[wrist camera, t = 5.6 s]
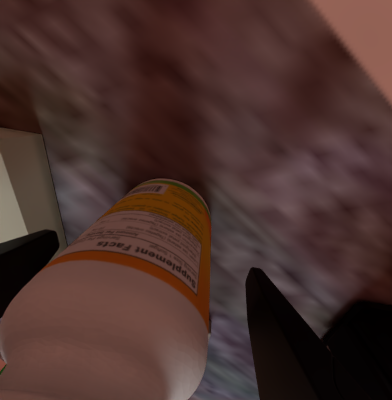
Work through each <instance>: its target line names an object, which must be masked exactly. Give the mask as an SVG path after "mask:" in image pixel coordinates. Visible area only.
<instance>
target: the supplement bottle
mask: <svg viewBox="0 0 392 400" xmlns="http://www.w3.org/2000/svg"><path fill="white" fill-rule="evenodd" d="M210 253H211V216H210V212H209V209H208V207H207V204H206V203H205V201H204V200H203V198H202V197H201V196H200V195H199V194H198V193H197V192H196V191H195V190H194V189H193V188H191V187H190V186H188V185H186V184H184V183H182V182H180V181H176V180H172V179H161V178H159V179H152V180H148V181H145V182H143V183H141V184H139V185H138V186H136V187H135V188H134V189H132V190H131V191H130V192H129V193H127V194H126V195H125V196H124V197H123V198H122V199H121V200H119V201H118V202H117V203H116V204H115V205H114V206H113V207H112V208H111V209H109V210H108V211H107V212H106V213H105V214H104V215H103V216H102V217H100V218H99V219H98V220H97V221H96V222H95V223H94V224H93V225H92V226H90V227H89V228H88V229H87V230H86V231H85V232H84V233H82V234H81V235H80V236H79V237H78V238H77V239H76V240H75V241H74V242H72V243H71V244H70V245H69V246H68V247H67V248H66V249H65V250H63V251H62V252H61V253H60V254H59V255H58V256H57V257H55V258H54V259H53V260H52V261H51V262H50V263H49V264H47V265H46V266H45V267H44V268H43V269H42V270H41V271H40V272H38V273H37V274H36V275H35V276H34V277H33V278H32V279H31V281H30V282H28V283H27V284H26V285H25V286H24V287H23V288H22V289H21V291H20V292H19V293H18V294H17V295H16V296H15V297H14V299H13V300H12V301H11V303H10V304H9V306H8V307H7V309H6V311H5V313H4V315H3V317H2V320H1V323H0V352H1V355H2V357H3V359H4V361H5V363H6V364H7V365H6V367H5V369H4V370H3V372H2V373H1V375H0V400H187V399H189V398H190V397H191V395H192V394H193V393H194V392H195V390H196V389H197V387H198V385H199V383H200V381H201V379H202V377H203V374H204V371H205V367H206V361H207V350H208V332H209V294H210Z"/></svg>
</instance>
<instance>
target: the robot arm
mask: <svg viewBox="0 0 392 400" xmlns="http://www.w3.org/2000/svg"><path fill="white" fill-rule="evenodd" d="M59 247H60V243H59V239H58V235H57V232H56V231H54V230H49V229H44V230H41V231H38V232H34V233H31V234H28V235H25V236H22V237H18V238H15V239H12V240H9V241H6V242H2V243H0V318H1V317H2V316H3V315H4V313H5V311H6V309H7V307H8V306H9V304H10V303H11V301H12V300H13V299H14V297H15V296H16V295H17V294H18V293H19V292H20V291H21V289H22V288H23V287H24V286H25V285H26V284H27V283H28V282H30V281H31V279H32V278H33V277H34V276H35V275H36V274H37V273H38V272H40V271H41V270H42V269H43V268H44V267H45V266H46V265H47V264H48V263H49V261H50V260H51V259H52V257H53V256H54V255H55V253H56V252H57V251H58V249H59ZM245 286H246V304H247V320H248V328H249V334H250V341H251V347H252V353H253V360H254V366H255V372H256V379H257V385H258V391H259V397H260V400H392V306H387V305H382V304H376V303H371V302H364V301H363V302H359V303H357V304H355V305H354V307H353V308H352V309H351V310H350V311H349V312H348V313H347V315H346V316H345V317H344V318H343V319H342V320H341V321H340V323H339V324H338V325H337V326H336V327H335V328H334V330H333V331H332V332H331V333H330V334H329V335H328V336H327V338H326V339H325V340H324V341H323V342H322V341H321V340H320V339H319V337H318V336H317V335H316V334H315V333H314V331H313V330H312V329H311V328H310V327H309V325H308V324H307V323H306V322H305V321H304V319H303V318H302V317H301V316H300V315H299V313H298V312H297V311H296V310H295V309H294V308H293V306H292V305H291V304H290V303H289V302H288V300H287V299H286V298H285V297H284V296H283V294H282V293H281V292H280V291H279V290H278V288H277V287H276V286H275V285H274V284H273V282H272V281H271V280H270V279H269V278H268V277H267V275H266V274H265V273H264V272H263V271H262V270H261V269H260V268H255V267H252V268H251V269H250V271H249V273H248V276H247V278H246V284H245Z"/></svg>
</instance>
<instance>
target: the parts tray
mask: <svg viewBox="0 0 392 400" xmlns="http://www.w3.org/2000/svg"><path fill="white" fill-rule="evenodd" d="M44 229H49V230H54V231H56V232H57V235H58V239H59V243H60V247H59V249H58V251H57V252H56V253H55V255H54V256H53V257H52V259H51V260H50V261H49V263H50V262H51V261H52V260H53V259H54V258H55V257H57V256H58V255H59V254H60V253H61V252H62V251H63V250H65V249H66V248H67V243H66V239H65V234H64V230H63V225H62V221H61V217H60V212H59V208H58V203H57V199H56V194H55V190H54V186H53V181H52V177H51V172H50V168H49V164H48V159H47V155H46V150H45V146H44V141H43V137H42V134H36V133H31V132H25V131H19V130H13V129H7V128H1V127H0V243H2V242H6V241H9V240H12V239H15V238H18V237H22V236H25V235H28V234H31V233H34V232H38V231H41V230H44ZM49 263H48V264H49Z"/></svg>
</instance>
